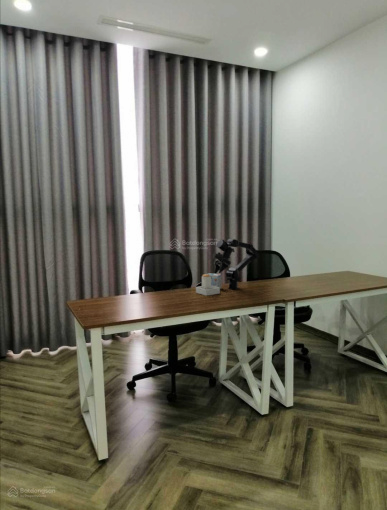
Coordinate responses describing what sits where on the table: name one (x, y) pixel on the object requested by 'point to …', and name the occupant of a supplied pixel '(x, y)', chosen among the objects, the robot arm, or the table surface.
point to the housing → (208, 290)
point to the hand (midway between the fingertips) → (217, 273)
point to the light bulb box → (215, 280)
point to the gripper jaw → (206, 281)
